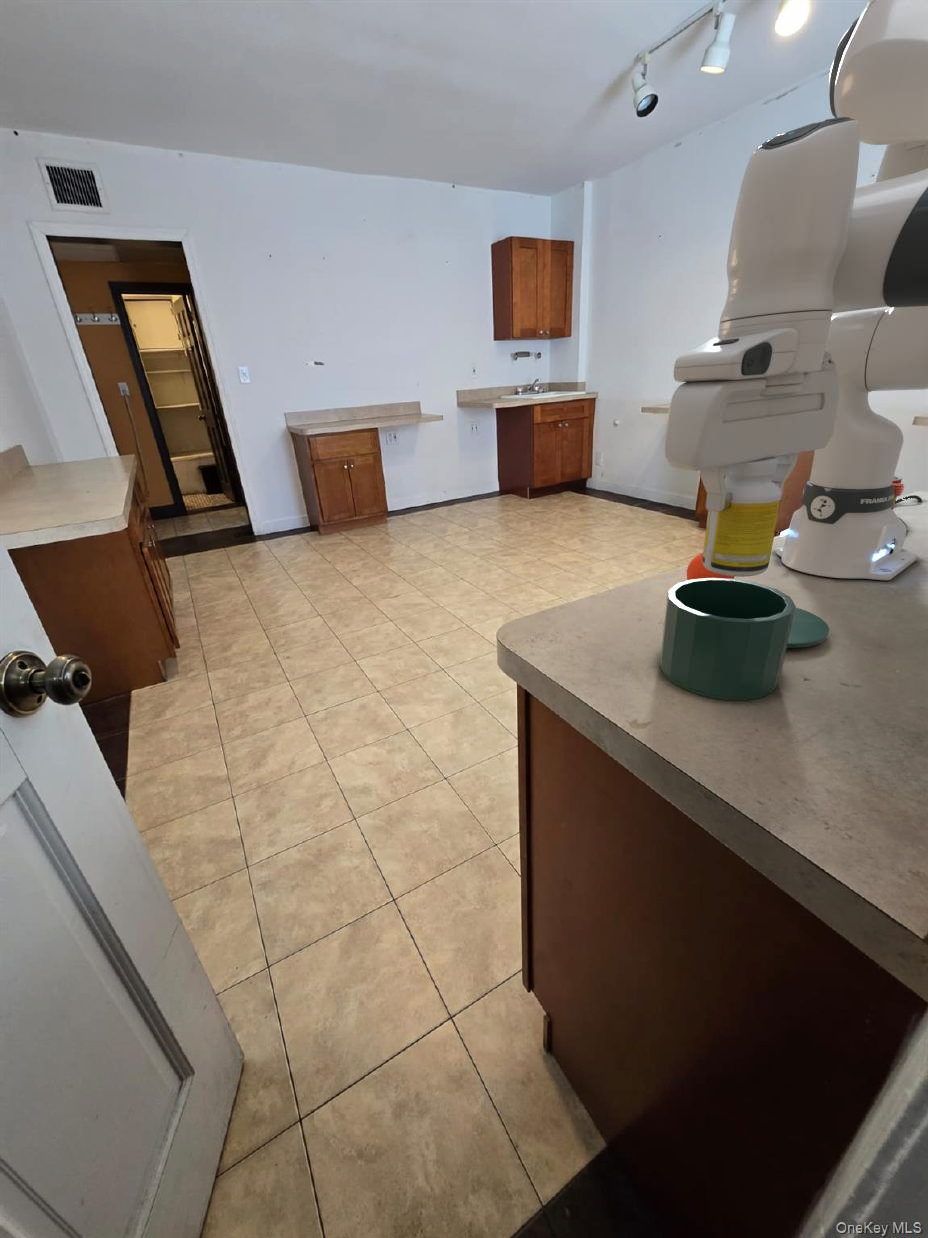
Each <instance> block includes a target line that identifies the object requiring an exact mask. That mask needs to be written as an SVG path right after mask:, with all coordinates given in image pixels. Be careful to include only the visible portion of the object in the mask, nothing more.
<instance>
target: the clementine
mask: <svg viewBox="0 0 928 1238" xmlns="http://www.w3.org/2000/svg"><path fill="white" fill-rule="evenodd" d="M702 559H703V552H701V553H699V554H697V555H696V556H694V558H692V559H691V560H690V562H689V564H688V565H687V568H686V581H688V580H692V579H704V578H724V579H735V577H736V576H727V575H721V574H717V573H714V572H712V571H709V570H708V569H706V568H705V567H704V565H703V562H702Z"/></svg>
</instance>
